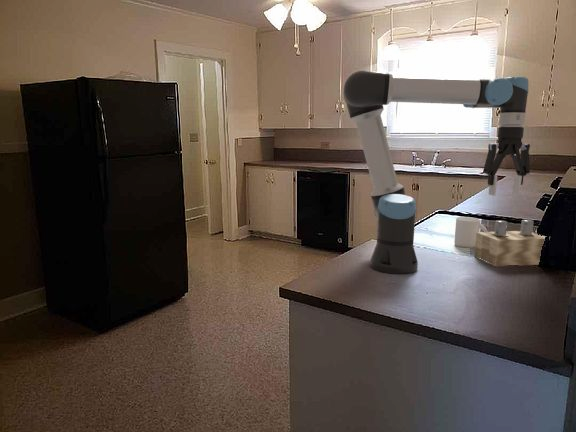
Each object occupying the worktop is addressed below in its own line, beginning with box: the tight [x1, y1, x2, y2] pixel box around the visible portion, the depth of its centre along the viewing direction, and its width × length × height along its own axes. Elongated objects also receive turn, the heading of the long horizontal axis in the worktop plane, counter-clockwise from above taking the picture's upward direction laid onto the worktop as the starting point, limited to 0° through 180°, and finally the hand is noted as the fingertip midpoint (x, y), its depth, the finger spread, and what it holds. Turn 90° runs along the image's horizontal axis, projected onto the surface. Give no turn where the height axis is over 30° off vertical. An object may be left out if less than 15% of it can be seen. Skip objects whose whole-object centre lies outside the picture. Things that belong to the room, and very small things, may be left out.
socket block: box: [473, 230, 546, 267], centre depth 152 cm, size 20×12×9 cm, turn 99°
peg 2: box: [520, 219, 535, 237], centre depth 151 cm, size 4×4×9 cm
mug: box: [453, 216, 488, 249], centre depth 170 cm, size 9×12×11 cm
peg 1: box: [493, 220, 508, 237], centre depth 150 cm, size 4×4×9 cm
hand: (504, 194), depth 147 cm, fingers open, 8 cm apart
